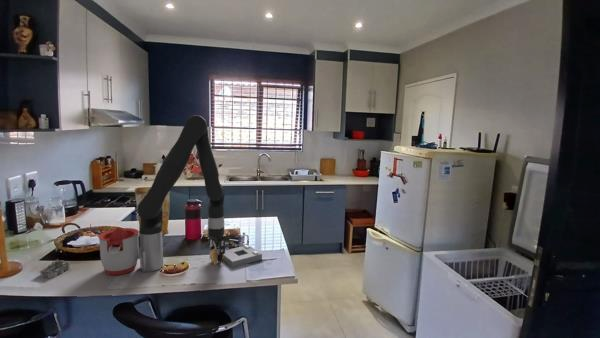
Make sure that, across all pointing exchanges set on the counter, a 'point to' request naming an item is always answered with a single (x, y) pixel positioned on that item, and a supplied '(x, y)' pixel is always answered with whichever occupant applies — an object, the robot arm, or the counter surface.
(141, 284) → the counter surface
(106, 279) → the counter surface
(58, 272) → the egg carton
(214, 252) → the plug
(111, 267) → the citrus juicer
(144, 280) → the counter surface
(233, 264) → the socket plate
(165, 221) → the pancake mix bag
